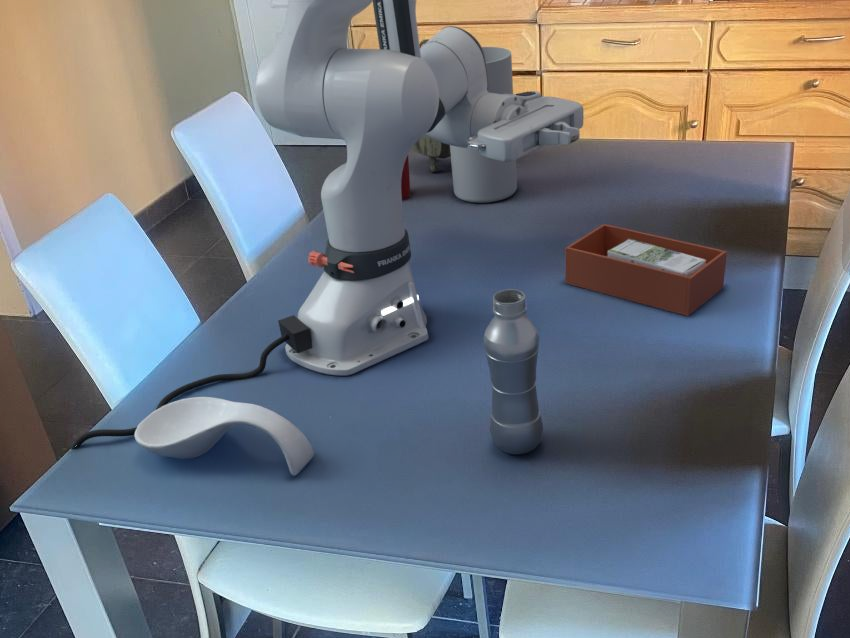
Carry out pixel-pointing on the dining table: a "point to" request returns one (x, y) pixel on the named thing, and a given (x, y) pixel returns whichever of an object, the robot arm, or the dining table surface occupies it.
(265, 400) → the dining table surface
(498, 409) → the plastic bottle
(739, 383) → the dining table surface
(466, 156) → the cylinder vase
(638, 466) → the dining table surface
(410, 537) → the dining table surface
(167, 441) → the spoon rest
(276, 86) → the robot arm
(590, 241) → the bin
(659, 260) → the syrup box
